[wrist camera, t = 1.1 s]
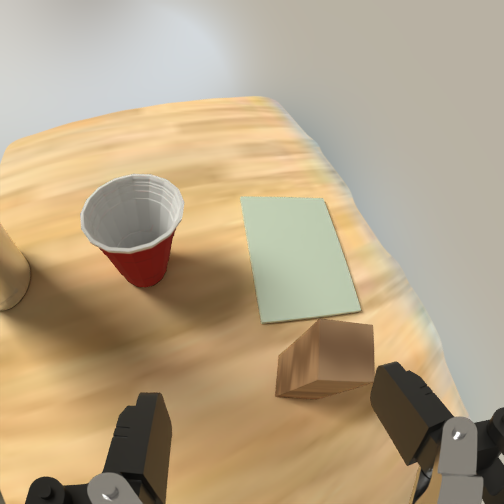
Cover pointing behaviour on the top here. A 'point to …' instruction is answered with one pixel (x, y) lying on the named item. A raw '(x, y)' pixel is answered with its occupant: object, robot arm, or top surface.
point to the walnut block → (327, 360)
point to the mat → (296, 260)
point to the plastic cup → (134, 224)
